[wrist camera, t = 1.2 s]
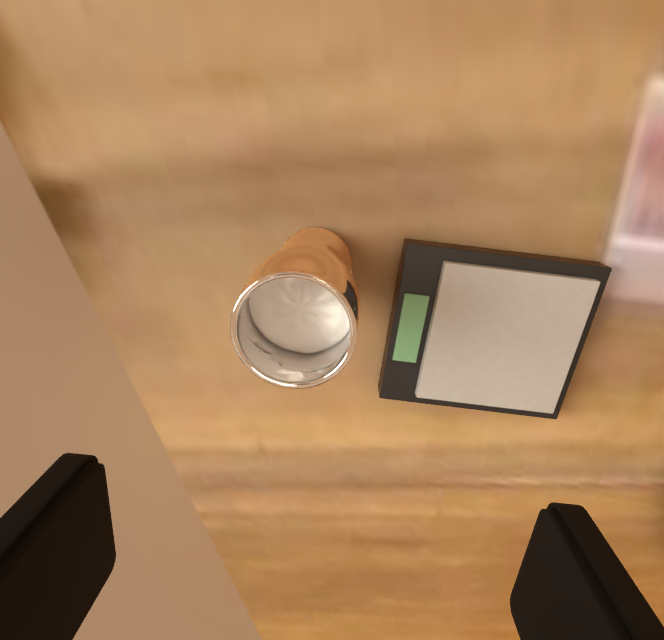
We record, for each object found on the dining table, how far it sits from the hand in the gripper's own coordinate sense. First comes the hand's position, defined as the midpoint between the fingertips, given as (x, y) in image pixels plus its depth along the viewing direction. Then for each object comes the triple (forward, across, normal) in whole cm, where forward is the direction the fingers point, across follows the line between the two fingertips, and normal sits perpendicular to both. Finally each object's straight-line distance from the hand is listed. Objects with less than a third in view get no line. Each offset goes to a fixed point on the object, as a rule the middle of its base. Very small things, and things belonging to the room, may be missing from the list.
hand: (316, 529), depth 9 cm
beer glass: (+28, +2, +1) cm, 28 cm away
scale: (+28, -13, +5) cm, 31 cm away
